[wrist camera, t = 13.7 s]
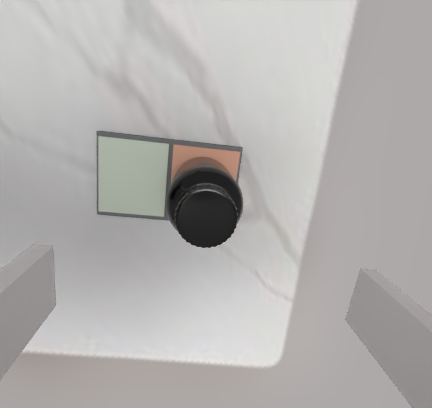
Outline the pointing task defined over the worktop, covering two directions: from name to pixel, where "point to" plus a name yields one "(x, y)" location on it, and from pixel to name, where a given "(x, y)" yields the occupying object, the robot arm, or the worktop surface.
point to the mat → (148, 171)
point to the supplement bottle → (204, 202)
